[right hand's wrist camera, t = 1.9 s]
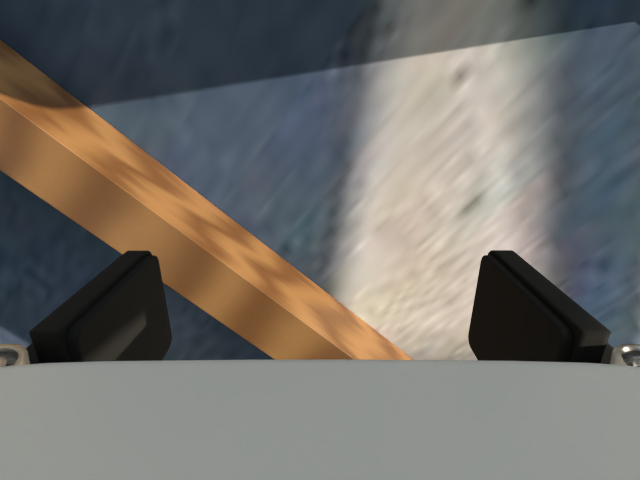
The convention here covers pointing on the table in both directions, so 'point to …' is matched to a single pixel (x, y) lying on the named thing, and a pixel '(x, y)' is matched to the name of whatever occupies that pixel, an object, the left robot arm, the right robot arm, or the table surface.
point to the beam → (168, 224)
